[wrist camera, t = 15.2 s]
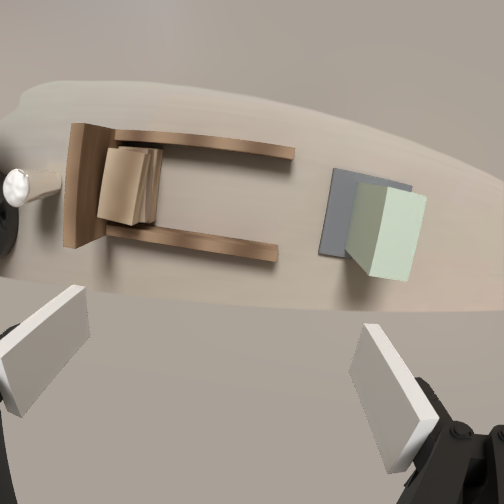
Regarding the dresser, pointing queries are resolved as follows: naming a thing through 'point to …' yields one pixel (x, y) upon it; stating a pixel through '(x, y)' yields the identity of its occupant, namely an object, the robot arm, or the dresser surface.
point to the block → (385, 230)
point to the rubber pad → (345, 208)
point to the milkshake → (30, 186)
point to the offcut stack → (130, 185)
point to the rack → (92, 227)
